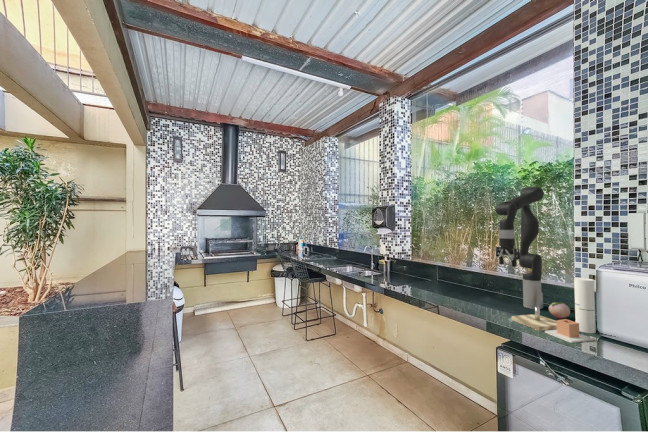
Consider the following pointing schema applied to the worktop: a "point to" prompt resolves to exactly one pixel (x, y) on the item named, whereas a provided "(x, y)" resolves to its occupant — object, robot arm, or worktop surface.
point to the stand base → (536, 322)
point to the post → (537, 313)
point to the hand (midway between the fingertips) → (507, 265)
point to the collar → (568, 328)
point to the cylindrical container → (585, 304)
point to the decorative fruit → (559, 310)
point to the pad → (571, 340)
